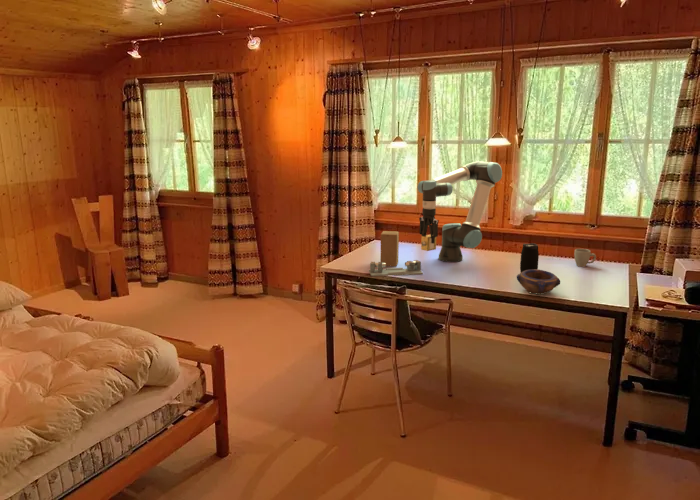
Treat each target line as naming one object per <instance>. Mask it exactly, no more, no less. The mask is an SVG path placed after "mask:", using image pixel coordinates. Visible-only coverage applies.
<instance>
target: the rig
mask: <svg viewBox="0 0 700 500" xmlns="http://www.w3.org/2000/svg"><path fill="white" fill-rule="evenodd" d="M368 272H370V269H369V270H368ZM369 274H370V276H371V277H389V276H388V275H394V276H414V275H417V276H418V275H424V272H423V271H422V269H421V270H420V271H417V270H415V269H414V271H411V272H410V271H408V270H407V268H403V267H385V269H384V268H383V271H382V273H378V269H375V272H370V273H369Z"/></svg>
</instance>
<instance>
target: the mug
mask: <svg viewBox="0 0 700 500" xmlns="http://www.w3.org/2000/svg"><path fill="white" fill-rule="evenodd" d="M591 251H592V250H590V249H587V248H575V249H574V262H575V264H576V265H575V266H577V267H581V268H582V267H586V266H587V265H588V264H593V263H594V262H595V261H596V259H597V255H596V253H593V252H592V253H591ZM590 257H593V258H592V260H591V261H589V260H590Z"/></svg>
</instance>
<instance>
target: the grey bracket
mask: <svg viewBox="0 0 700 500" xmlns="http://www.w3.org/2000/svg"><path fill="white" fill-rule="evenodd" d="M369 266H370V267H369V270H370V272H375V270H376V268H377V270H378V273H382V271H383V269H384V268H387V266H386V263H383V262H380V261H378V262H375V261H370V264H369Z"/></svg>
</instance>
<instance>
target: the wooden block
mask: <svg viewBox="0 0 700 500" xmlns="http://www.w3.org/2000/svg"><path fill="white" fill-rule="evenodd" d="M399 235H400V232H399V231H391V230H389V231H388V230H383V231H382V232H381V233H380V261H379V262H383V263H386V267H397V265H398V264H399V247H400V245H399V241H400V240H399V238H400V237H399Z"/></svg>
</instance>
